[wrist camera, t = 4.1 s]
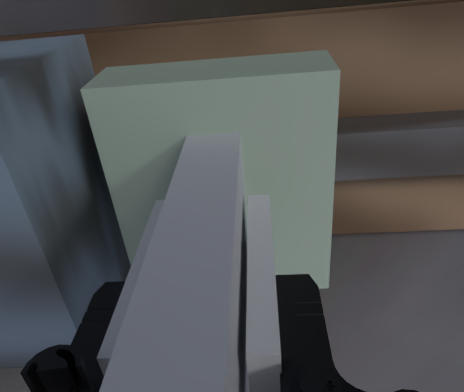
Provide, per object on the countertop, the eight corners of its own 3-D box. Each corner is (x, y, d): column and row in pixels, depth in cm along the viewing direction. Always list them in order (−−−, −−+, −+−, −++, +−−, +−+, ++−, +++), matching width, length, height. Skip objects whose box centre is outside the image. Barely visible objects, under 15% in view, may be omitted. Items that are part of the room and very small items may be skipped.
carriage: (119, 55, 18) (-188, 315, 6) (319, 39, 18) (498, 295, 5) (159, 231, 24) (48, 574, 11) (314, 224, 23) (394, 583, 10)
